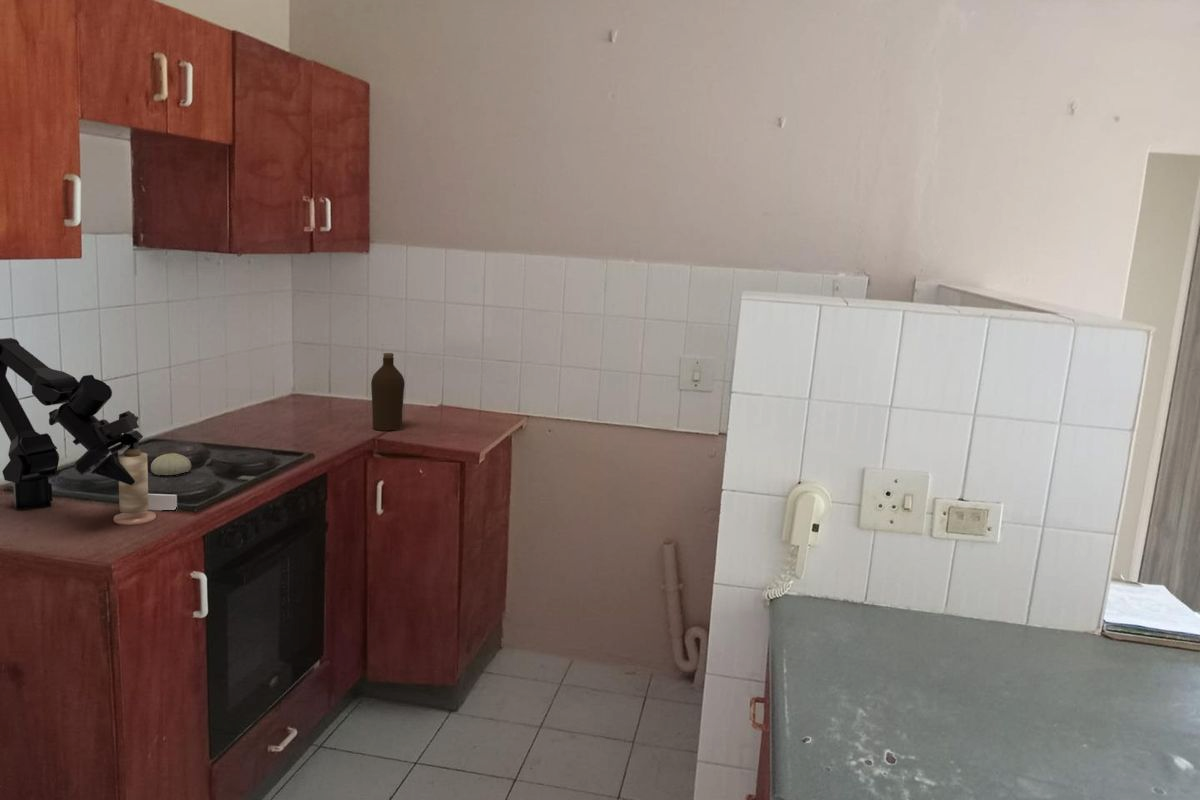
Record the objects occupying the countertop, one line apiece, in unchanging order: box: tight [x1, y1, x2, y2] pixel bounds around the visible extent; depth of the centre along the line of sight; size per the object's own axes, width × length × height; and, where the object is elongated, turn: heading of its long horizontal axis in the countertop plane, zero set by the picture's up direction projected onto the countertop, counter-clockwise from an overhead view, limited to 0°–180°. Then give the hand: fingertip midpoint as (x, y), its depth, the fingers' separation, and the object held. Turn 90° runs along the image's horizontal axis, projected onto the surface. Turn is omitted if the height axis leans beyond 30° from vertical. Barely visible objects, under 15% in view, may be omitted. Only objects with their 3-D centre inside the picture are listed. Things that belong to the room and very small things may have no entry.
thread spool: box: [118, 448, 149, 513], centre depth 187 cm, size 6×6×13 cm
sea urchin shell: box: [150, 452, 192, 476], centre depth 224 cm, size 9×8×8 cm
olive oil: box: [370, 352, 405, 431], centre depth 288 cm, size 11×11×25 cm
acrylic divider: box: [147, 493, 178, 511], centre depth 195 cm, size 10×1×4 cm, turn 93°
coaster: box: [113, 510, 157, 526], centre depth 188 cm, size 8×8×1 cm
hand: (139, 479), depth 187 cm, fingers closed on thread spool, 5 cm apart
